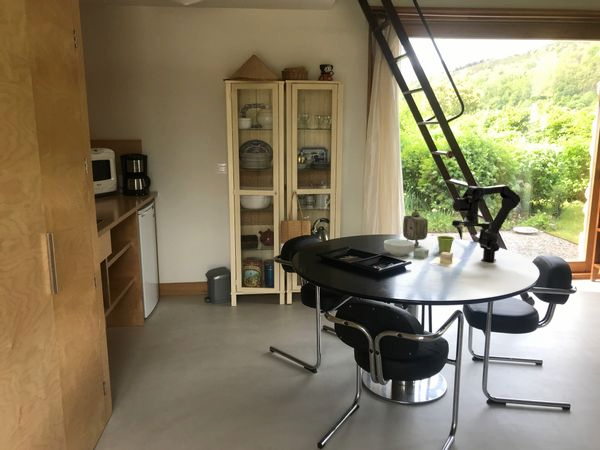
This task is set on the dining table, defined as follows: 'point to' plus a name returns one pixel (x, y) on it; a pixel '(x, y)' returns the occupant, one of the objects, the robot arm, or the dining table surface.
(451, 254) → the cube
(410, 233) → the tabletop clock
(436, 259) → the letter
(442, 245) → the plant pot
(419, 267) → the dining table surface
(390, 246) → the cereal bowl
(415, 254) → the translucent green block
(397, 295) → the dining table surface
